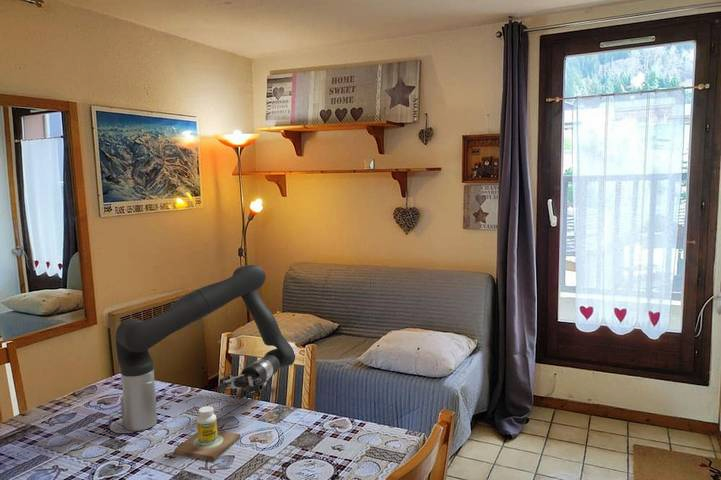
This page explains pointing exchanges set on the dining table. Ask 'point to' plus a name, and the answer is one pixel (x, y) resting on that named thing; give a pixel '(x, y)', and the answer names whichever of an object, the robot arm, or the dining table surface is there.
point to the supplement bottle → (207, 426)
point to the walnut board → (207, 446)
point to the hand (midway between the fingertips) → (230, 391)
